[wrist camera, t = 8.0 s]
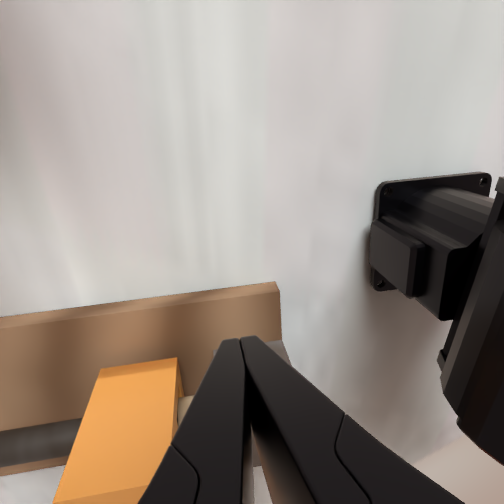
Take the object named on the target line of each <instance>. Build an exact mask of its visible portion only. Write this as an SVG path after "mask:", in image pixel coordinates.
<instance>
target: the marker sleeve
mask: <svg viewBox="0 0 504 504" xmlns="http://www.w3.org/2000/svg"><path fill="white" fill-rule="evenodd" d="M180 397H184V392H183V387H182V381H181V376H180V370H179V365H178V359H177V357H176V358H169V359H162V360H156V361H149V362H142V363H136V364H129V365H122V366H116V367H109V368H102V369H100V372H99V375H98V378H97V380H96V383H95V386H94V389H93V392H92V394H91V397H90V400H89V403H88V405H87V408H86V411H85V414H84V417H83V419H82V422H81V425H80V428H79V430H78V433H77V436H76V439H75V442H74V444H73V447H72V450H71V453H70V455H69V458H68V461H67V464H66V467H65V469H64V472H63V475H62V478H61V481H60V483H59V486H58V489H57V492H56V494H55V497H54V500H53V504H137V503H138V501H139V500H140V498H141V497H142V495H143V493H144V492H145V490H146V489H147V487H148V485H149V483H150V481H151V479H152V478H153V476H154V474H155V472H156V470H157V468H158V466H159V465H160V463H161V461H162V459H163V457H164V455H165V453H166V451H167V449H168V447H169V446H171V445H170V443H171V441H172V439H173V437H174V435H175V433H176V431H177V429H178V423H177V407H178V398H180Z"/></svg>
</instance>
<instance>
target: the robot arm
mask: <svg viewBox="0 0 504 504" xmlns="http://www.w3.org/2000/svg"><path fill="white" fill-rule="evenodd" d="M481 179H482V182H481V183H480V184H479V181H480V180H481ZM491 182H492V177H491V175H490V174H488V173H484V172H472V173H462V174H453V175H443V176H433V177H423V178H413V179H404V180H394V181H385V182H382V183H381V184H380V185H379V186H378V187H377V191H376V204H375V220H374V221H373V222H372V224H371V237H370V253H369V264H370V265H371V280H370V283H371V286H372V287H373V288H374V289H375V290H376V291H387V290H394V289H398V290H399V291H401V292H402V293H403V294H404V295H405V296H406V297H407V298H409V299H411V298H415V299H416V300H417V301H418V302H420V303H421V304H422V305H423V306H424V307H425V308H427V309H428V310H429V311H430V312H431V313H432V314H434V315H435V316H436V317H437V318H438V319H439V320H441V321H447V320H453V322H452V325H451V328H450V331H449V334H448V337H447V340H446V343H445V345H444V348H443V349H442V350H440V352H439V355H438V358H437V362H438V364H439V367H440V369H441V371H442V374H441V376H440V379H441V385H442V390H443V394H444V396H445V397H446V399H447V400H448V402H449V403H450V405H451V407H452V408H453V410H454V411H455V413H456V414H457V415H458V418H457V425H458V427H459V428H460V429H461V431H462V432H463V433H464V434H465V435H466V436H467V437H469V438H470V439H471V440H472V441H473V442H474V443H475V444H476V445H477V446H478V447H479V448H480V449H481V450H483V451H484V452H485V453H487V454H488V455H489V456H491V457H492V458H493V459H495V460H496V461H497V462H499V463H500V464H501V465H503V466H504V177H499V179H498V182H497V185H496V188H495V191H497V194H496V197H495V199H493V198H489V193H490V187H491ZM388 187H389V189H390V190H389V193H388V194H387V195H385V194H384V192H385V190H386V188H388ZM380 280H382V283H381V284H379V285H377V284H378V282H379V281H380ZM251 427H252V431H251ZM252 432H253V436H254V440H255V444H256V448H257V451H258V454H259V458H260V461H261V465H262V468H263V472H264V475H265V479H266V482H267V486H268V489H269V493H270V496H271V500H272V503H273V504H465V503H464V502H462V501H461V500H459V499H458V498H457V497H455V496H454V495H452V494H451V493H450V492H448V491H447V490H445V489H444V488H442V487H441V486H440V485H438V484H437V483H435V482H434V481H433V480H431V479H430V478H428V477H427V476H426V475H424V474H423V473H421V472H420V471H419V470H417V469H416V468H414V467H413V466H411V465H410V464H409V463H407V462H406V461H404V460H403V459H402V458H400V457H399V456H398V455H396V454H395V453H394V452H392V451H391V450H390V449H388V448H387V447H386V446H384V445H383V444H382V443H380V442H379V441H378V440H377V439H375V438H374V437H373V436H372V435H371V434H369V433H368V432H367V431H366V430H365V429H363V428H362V427H361V426H360V425H359V424H357V423H356V422H355V421H354V420H353V419H352V418H351V417H349V416H348V415H345V413H344V411H342V410H341V409H340V408H339V407H338V406H337V405H336V404H334V403H333V402H332V401H331V400H330V399H329V398H328V397H326V396H325V395H324V394H323V393H322V392H321V391H320V390H318V389H317V388H316V387H315V386H314V385H313V384H312V383H310V382H309V381H308V380H307V379H306V378H305V377H304V376H302V375H301V374H300V373H299V372H298V371H297V370H296V369H294V368H293V367H292V366H291V365H290V364H289V363H288V362H286V361H285V360H284V359H283V358H282V357H281V356H280V355H278V354H277V353H276V352H275V351H274V350H273V349H272V348H270V347H269V346H268V345H267V344H266V343H265V342H264V341H262V340H261V339H260V338H259V337H258V336H256V335H251V336H244V337H241V338H240V341H239V339H238V338H231V339H224V340H222V341H221V343H220V345H219V347H218V349H217V351H216V353H215V355H214V357H213V359H212V361H211V363H210V365H209V367H208V369H207V371H206V373H205V375H204V377H203V379H202V381H201V383H200V385H199V387H198V389H197V391H196V393H195V395H194V397H193V399H192V401H191V403H190V405H189V407H188V409H187V411H186V413H185V415H184V417H183V419H182V421H181V423H180V425H179V427H178V429H177V431H176V433H175V435H174V437H173V439H172V441H171V443H170V445H171V446H169V447H168V449H167V451H166V453H165V455H164V457H163V459H162V461H161V463H160V465H159V466H158V468H157V470H156V472H155V474H154V476H153V478H152V479H151V481H150V483H149V485H148V487H147V489H146V490H145V492H144V493H143V495H142V497H141V498H140V500H139V501H138V503H137V504H254V480H253V450H252Z"/></svg>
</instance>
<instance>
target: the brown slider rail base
mask: <svg viewBox="0 0 504 504" xmlns="http://www.w3.org/2000/svg"><path fill="white" fill-rule="evenodd" d="M251 335H256V336H258V337H259V338H260V339H261V340H262V341H264V342H265V343H266V344H267V345H268V346H269V347H270V348H272V349H273V350H274V351H275V352H276V353H277V354H278V355H280V356H281V357H282V358H283V359H284V360H285V361H286V362H288V363H289V364H290V365H291V363H290V360H289V357H288V355H287V352H286V349H285V347H284V344H283V342H282V333H281V309H280V291H279V289H278V287H277V284H276V282H268V283H260V284H253V285H245V286H237V287H230V288H222V289H214V290H207V291H199V292H191V293H184V294H176V295H168V296H161V297H153V298H145V299H138V300H130V301H122V302H115V303H107V304H99V305H91V306H84V307H76V308H68V309H61V310H53V311H45V312H38V313H30V314H22V315H15V316H7V317H0V476H5V475H10V474H16V473H22V472H27V471H33V470H39V469H44V468H50V467H56V466H61V465H66V464H67V461H68V458H69V455H70V453H71V450H72V447H73V444H74V442H75V439H76V436H77V433H78V430H79V428H80V425H81V422H82V419H83V417H84V414H85V411H86V408H87V405H88V403H89V400H90V397H91V394H92V392H93V389H94V386H95V383H96V380H97V378H98V375H99V372H100V369H102V368H109V367H116V366H122V365H129V364H136V363H142V362H149V361H156V360H162V359H169V358H176V357H177V359H178V365H179V370H180V376H181V381H182V387H183V392H184V397H180V398H178V407H177V423H178V427H179V425H180V423H181V421H182V419H183V417H184V415H185V413H186V411H187V409H188V407H189V405H190V403H191V401H192V399H193V397H194V395H195V393H196V391H197V389H198V387H199V385H200V383H201V381H202V379H203V377H204V375H205V373H206V371H207V369H208V367H209V365H210V363H211V361H212V359H213V357H214V355H215V353H216V351H217V349H218V347H219V345H220V343H221V341H222V340H224V339H231V338H238V339H239V341H240V338H241V337H244V336H251ZM291 366H292V365H291ZM251 431H252V427H251ZM252 450H253V467H256V466H261V461H260V458H259V454H258V451H257V448H256V444H255V440H254V436H253V432H252Z"/></svg>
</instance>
